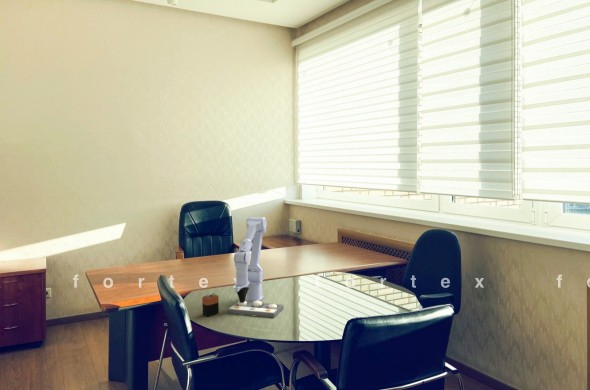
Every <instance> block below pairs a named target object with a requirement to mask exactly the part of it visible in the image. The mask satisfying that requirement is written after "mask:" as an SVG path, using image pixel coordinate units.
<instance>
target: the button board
mask: <svg viewBox="0 0 590 390" xmlns="http://www.w3.org/2000/svg"><path fill="white" fill-rule="evenodd" d="M238 302H239V300H238V301H237V302H235V303H234V304H233V305H231V306H229V308H227V314H230V313H231V314H232V315H241V314H244V315H243V316H251V315H256V316H255V317H262V316H263V317H264V318H273V319H274V318H275V317H277V316H278V315H279V314H280V313H281V312H282V311H283V310H284V304H277V303H274V304H275V305H277V309H268V305H270V304H271V303H266V302H262V307H261V308H257V307H253V302H249V301H246V302H247V305H246V306H238ZM263 317H262V318H263Z"/></svg>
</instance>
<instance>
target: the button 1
mask: <svg viewBox="0 0 590 390" xmlns="http://www.w3.org/2000/svg"><path fill="white" fill-rule="evenodd" d="M238 301H239V300H238ZM238 301H237V302H238ZM247 302H248V301H245V302H244V303H241V302H240V301H239V302H238V306H246V305H247Z"/></svg>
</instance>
